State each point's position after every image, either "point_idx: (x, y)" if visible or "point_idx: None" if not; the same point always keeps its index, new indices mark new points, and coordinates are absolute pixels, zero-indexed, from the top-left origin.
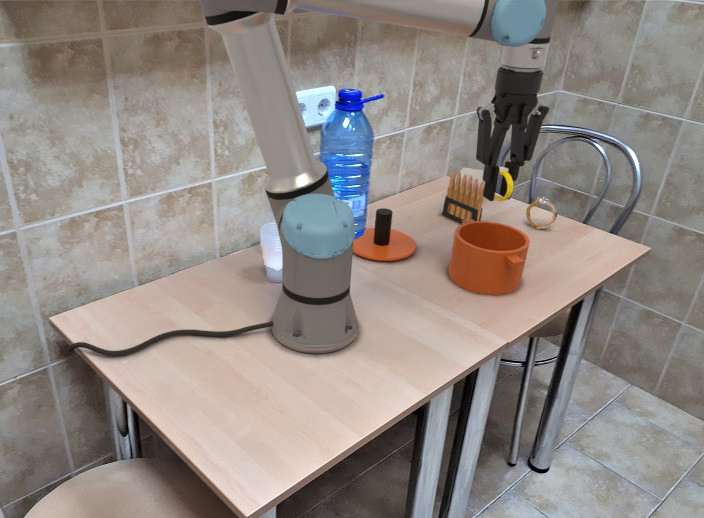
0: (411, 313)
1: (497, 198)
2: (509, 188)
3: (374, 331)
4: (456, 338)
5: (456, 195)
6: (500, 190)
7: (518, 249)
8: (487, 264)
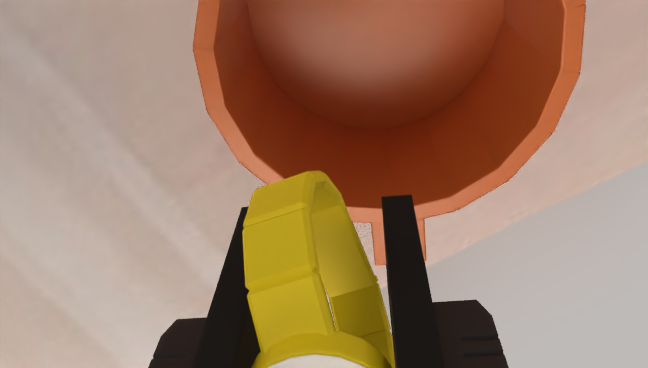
0: (55, 198)
1: (325, 273)
2: None
3: None
4: (161, 311)
5: None
6: (383, 221)
7: (442, 204)
8: None
